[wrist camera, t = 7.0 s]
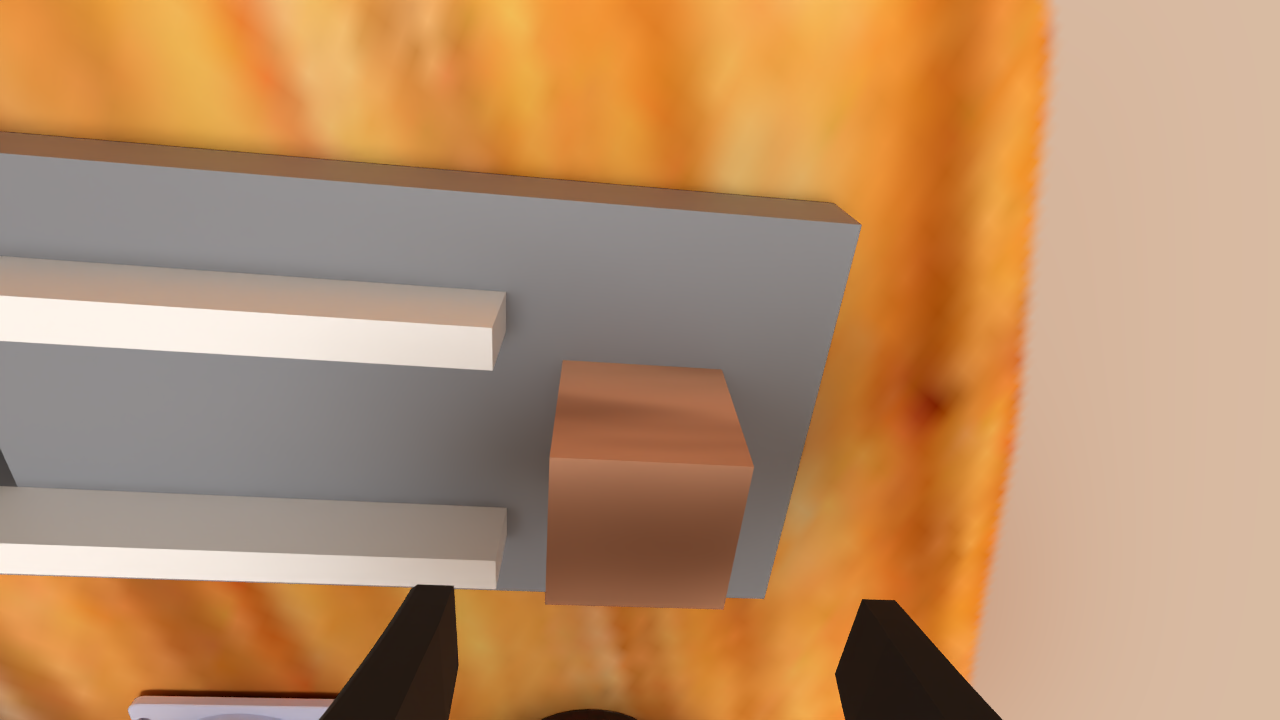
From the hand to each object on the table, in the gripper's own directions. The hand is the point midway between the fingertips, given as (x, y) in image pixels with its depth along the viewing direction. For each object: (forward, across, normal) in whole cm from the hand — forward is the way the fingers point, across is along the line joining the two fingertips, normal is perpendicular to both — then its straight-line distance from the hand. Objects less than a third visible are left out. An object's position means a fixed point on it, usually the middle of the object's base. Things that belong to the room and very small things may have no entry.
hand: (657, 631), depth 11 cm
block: (+6, 0, 0) cm, 6 cm away
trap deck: (+8, +10, 0) cm, 13 cm away
